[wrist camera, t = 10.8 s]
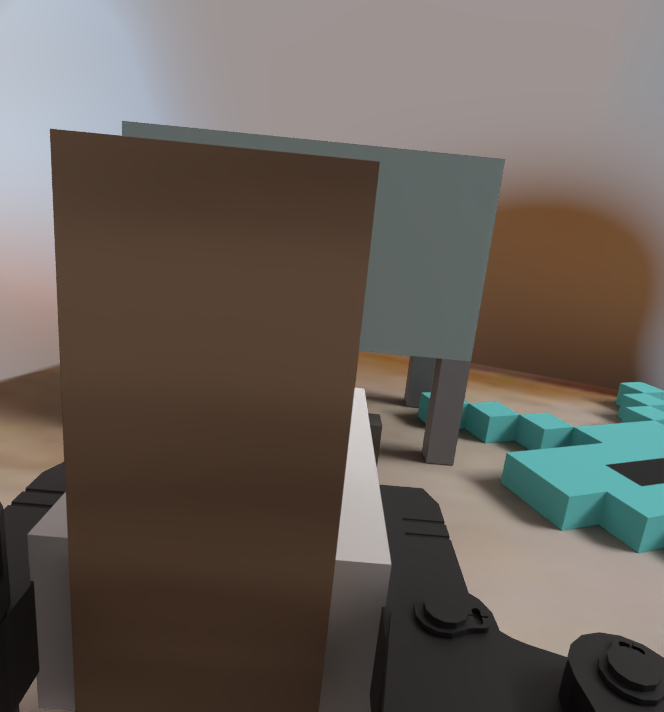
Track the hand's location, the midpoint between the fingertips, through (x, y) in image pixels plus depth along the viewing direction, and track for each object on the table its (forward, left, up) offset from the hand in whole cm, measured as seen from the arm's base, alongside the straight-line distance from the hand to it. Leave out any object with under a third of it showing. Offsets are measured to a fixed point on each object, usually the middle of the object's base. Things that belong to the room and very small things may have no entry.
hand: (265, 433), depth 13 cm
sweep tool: (0, -4, -8) cm, 9 cm away
